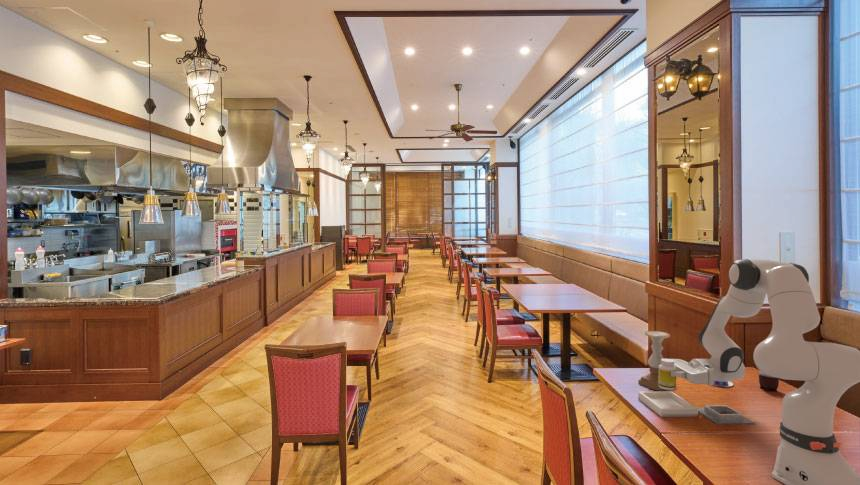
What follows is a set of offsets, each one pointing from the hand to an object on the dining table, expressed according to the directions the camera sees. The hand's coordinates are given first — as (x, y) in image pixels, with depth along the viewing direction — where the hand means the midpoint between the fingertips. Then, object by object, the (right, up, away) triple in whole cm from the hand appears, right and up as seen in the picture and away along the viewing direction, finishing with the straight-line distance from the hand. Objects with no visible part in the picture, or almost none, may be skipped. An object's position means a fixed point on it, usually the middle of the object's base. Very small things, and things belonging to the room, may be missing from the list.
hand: (665, 370), depth 176 cm
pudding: (+39, -14, +28) cm, 50 cm away
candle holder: (+9, -14, +25) cm, 30 cm away
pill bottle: (+1, -7, 0) cm, 7 cm away
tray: (+1, -15, 0) cm, 15 cm away
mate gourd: (+55, -14, +19) cm, 60 cm away
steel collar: (+17, -15, -8) cm, 24 cm away
